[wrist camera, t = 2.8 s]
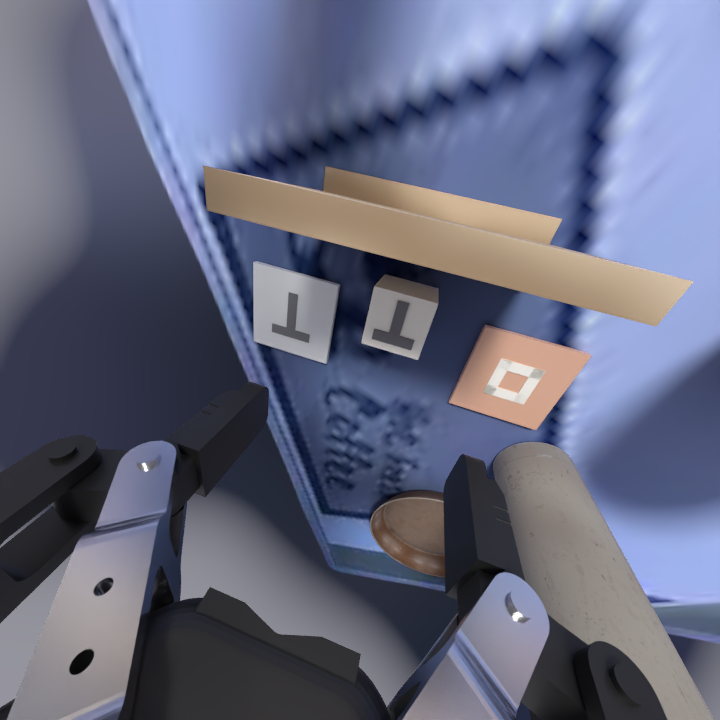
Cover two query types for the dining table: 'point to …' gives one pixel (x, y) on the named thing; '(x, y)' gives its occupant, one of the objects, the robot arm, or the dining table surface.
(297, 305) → the pad
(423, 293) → the letter cube
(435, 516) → the plant saucer
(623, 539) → the dining table surface
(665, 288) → the screen
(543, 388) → the pad
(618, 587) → the thermos bottle
